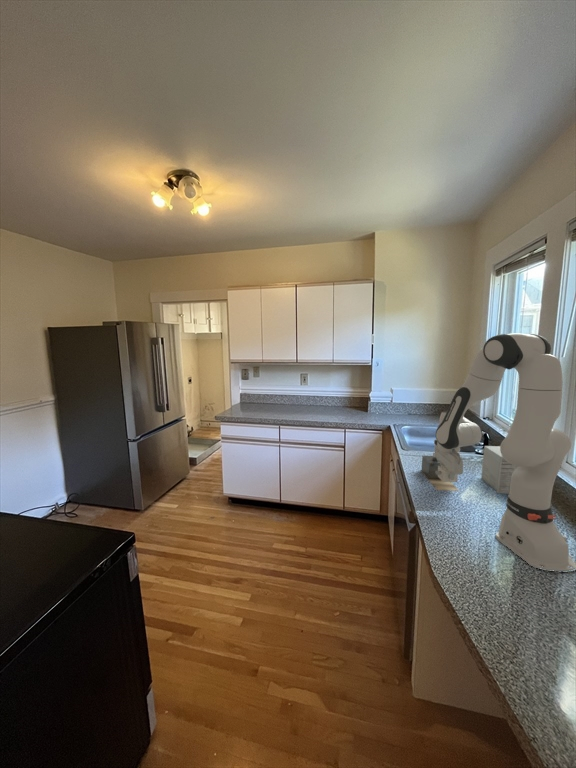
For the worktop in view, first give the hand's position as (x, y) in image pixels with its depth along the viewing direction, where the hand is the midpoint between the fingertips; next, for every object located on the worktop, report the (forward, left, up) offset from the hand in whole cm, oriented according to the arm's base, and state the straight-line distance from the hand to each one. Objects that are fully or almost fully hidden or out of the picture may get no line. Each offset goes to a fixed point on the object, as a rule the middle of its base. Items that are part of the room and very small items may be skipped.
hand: (447, 475), depth 140 cm
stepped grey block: (+13, 0, -6) cm, 14 cm away
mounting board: (+8, 0, -7) cm, 10 cm away
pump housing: (0, 0, -2) cm, 2 cm away
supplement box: (+5, -28, -8) cm, 29 cm away
